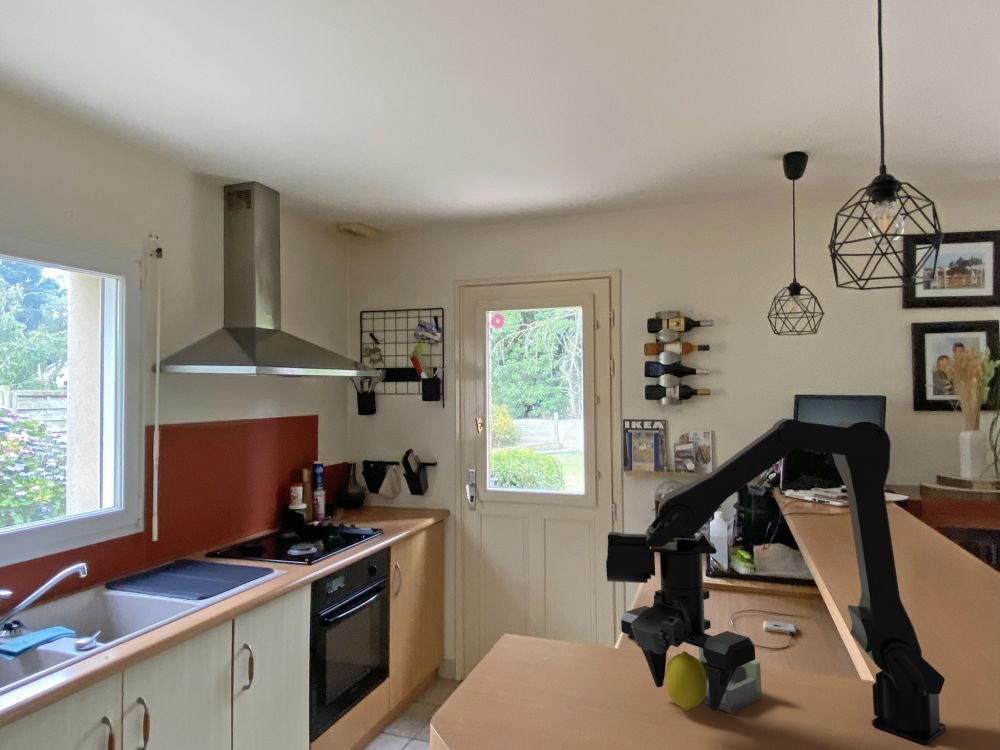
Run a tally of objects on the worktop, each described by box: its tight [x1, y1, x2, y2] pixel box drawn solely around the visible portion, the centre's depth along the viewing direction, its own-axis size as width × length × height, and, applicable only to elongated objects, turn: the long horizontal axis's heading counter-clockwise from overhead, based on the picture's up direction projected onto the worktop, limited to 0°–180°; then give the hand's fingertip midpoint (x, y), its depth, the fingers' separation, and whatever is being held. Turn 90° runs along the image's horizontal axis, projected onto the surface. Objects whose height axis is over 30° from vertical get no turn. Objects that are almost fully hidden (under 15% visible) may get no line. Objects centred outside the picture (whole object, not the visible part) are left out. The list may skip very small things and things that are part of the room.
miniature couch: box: [697, 647, 763, 714], centre depth 96 cm, size 10×8×5 cm
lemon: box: [664, 651, 707, 712], centre depth 91 cm, size 6×6×8 cm
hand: (685, 697), depth 91 cm, fingers open, 9 cm apart
